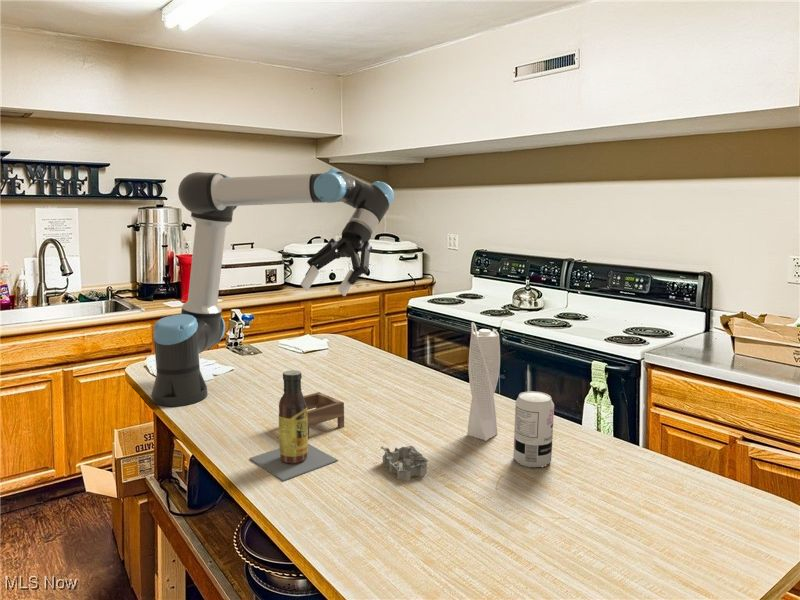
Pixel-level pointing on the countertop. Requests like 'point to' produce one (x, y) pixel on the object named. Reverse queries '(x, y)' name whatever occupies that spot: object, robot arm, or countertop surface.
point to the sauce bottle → (293, 420)
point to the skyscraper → (483, 382)
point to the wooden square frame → (323, 409)
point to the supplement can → (533, 429)
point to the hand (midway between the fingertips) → (322, 290)
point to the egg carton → (405, 462)
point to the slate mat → (287, 470)
